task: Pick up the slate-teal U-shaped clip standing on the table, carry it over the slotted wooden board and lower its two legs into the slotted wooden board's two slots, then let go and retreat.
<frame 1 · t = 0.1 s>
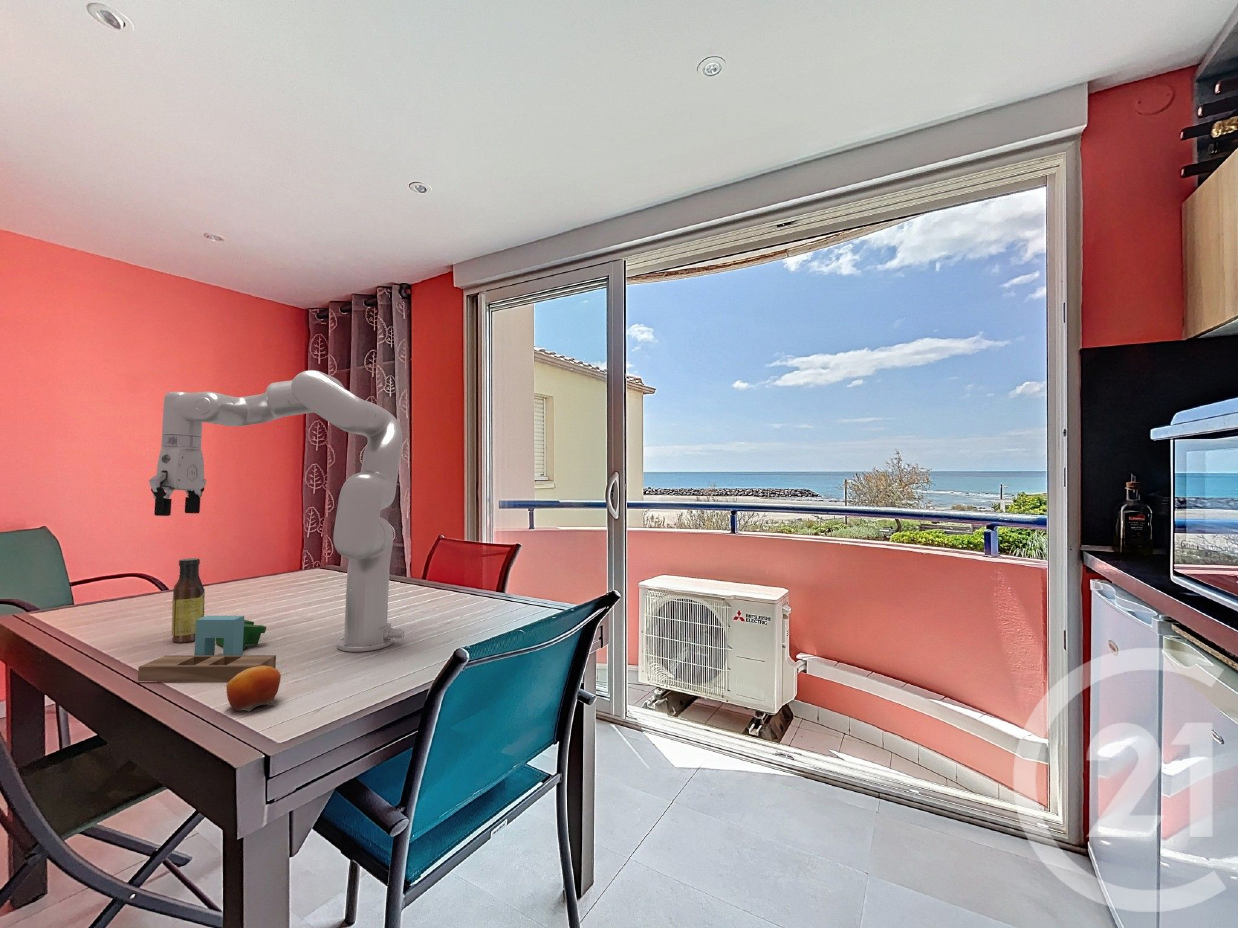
hand: (177, 514, 130), 31 cm above the table, tool pointing down, fingers open, 9 cm apart
fruit: (253, 706, 96), on the table
slotted wooden board: (209, 675, 110), on the table
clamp: (241, 646, 130), on the table
clip: (218, 658, 120), on the table
sauce bottle: (186, 640, 133), on the table
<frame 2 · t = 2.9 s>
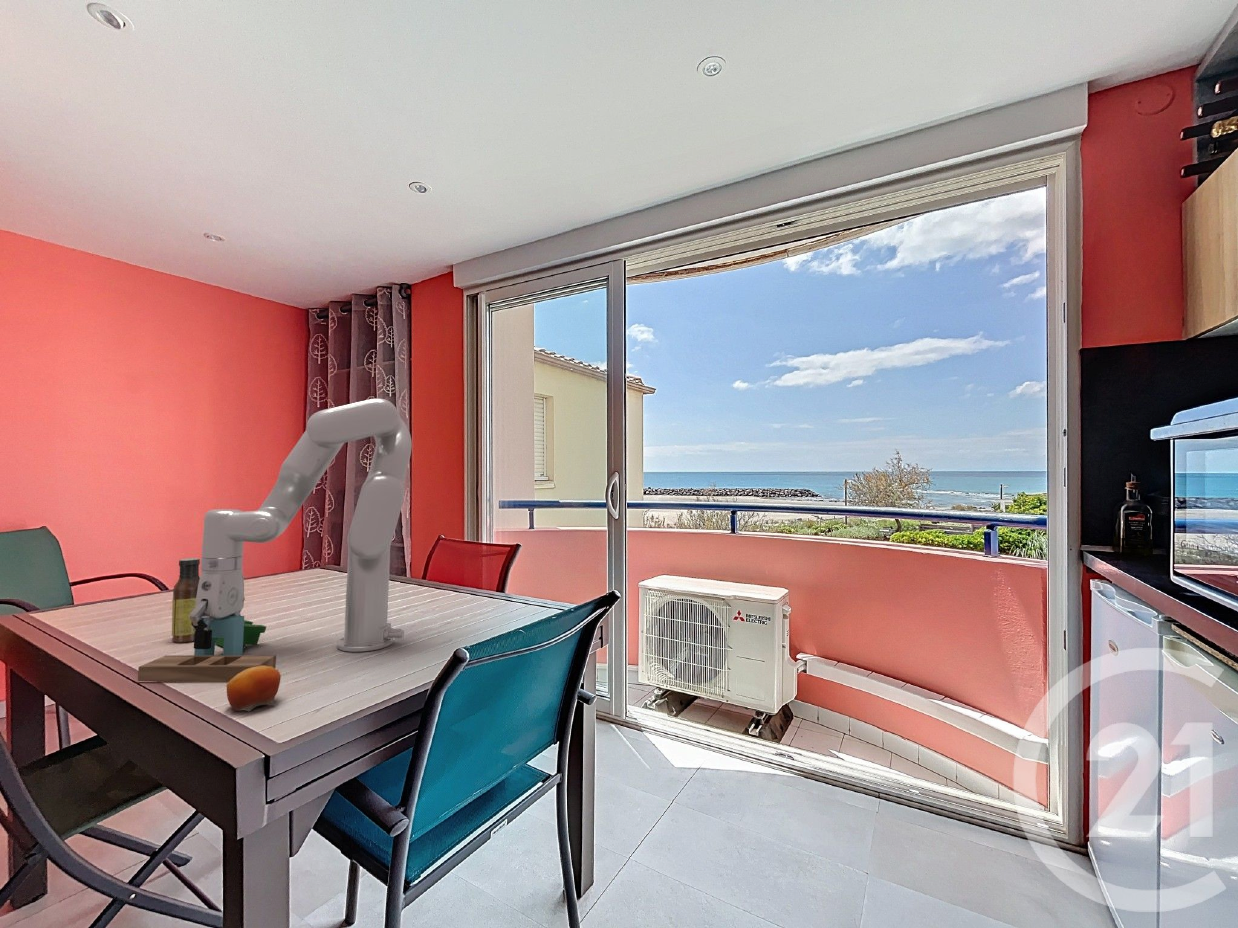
hand: (216, 642, 120), 4 cm above the table, tool pointing down, fingers open, 8 cm apart
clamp: (240, 646, 130), on the table, touching gripper
everything else where it was.
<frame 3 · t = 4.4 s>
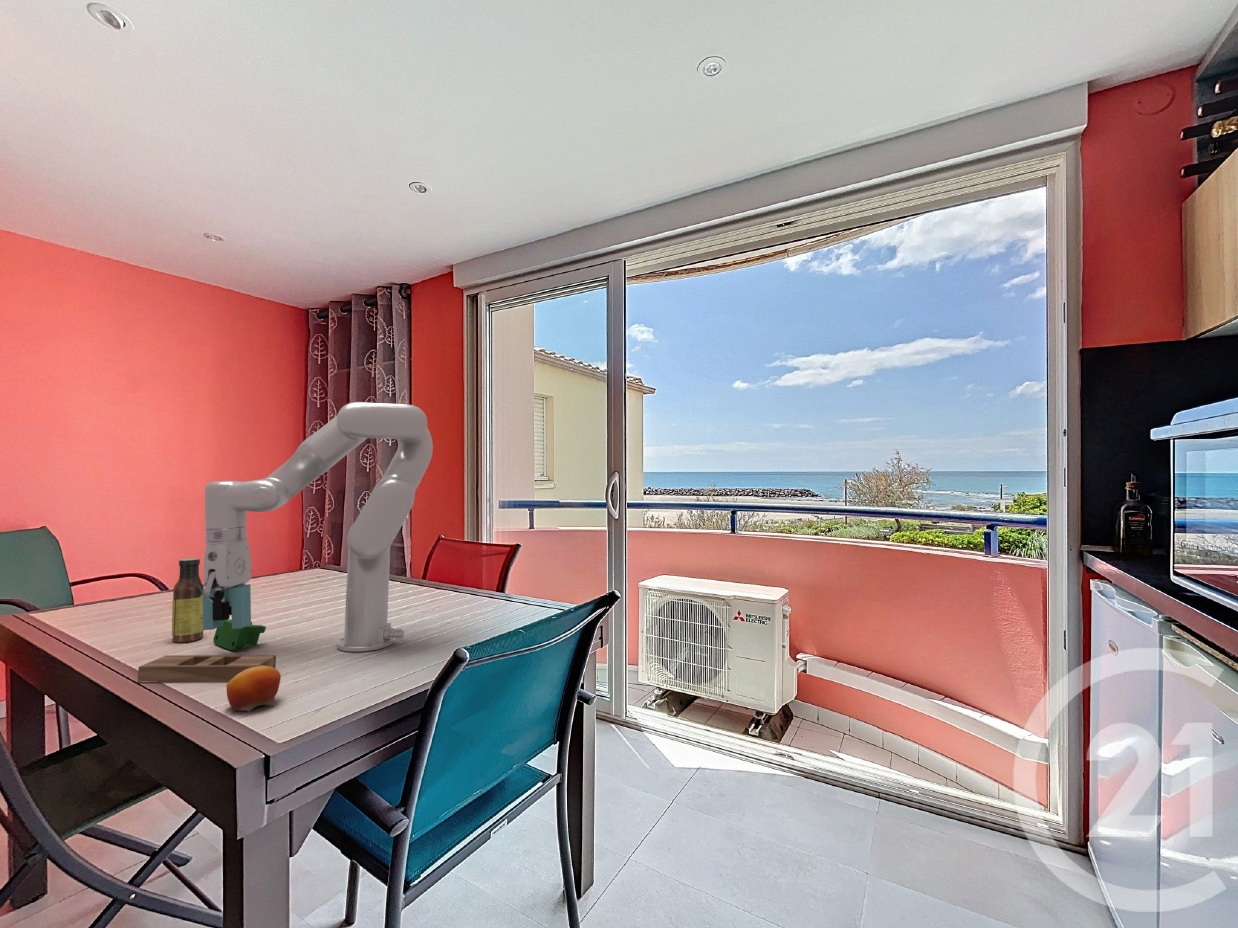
hand: (227, 616, 121), 9 cm above the table, tool pointing down, fingers closed on clip, 3 cm apart
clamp: (239, 646, 130), on the table
clip: (227, 626, 121), point 7 cm above the table, touching gripper
everything else where it was.
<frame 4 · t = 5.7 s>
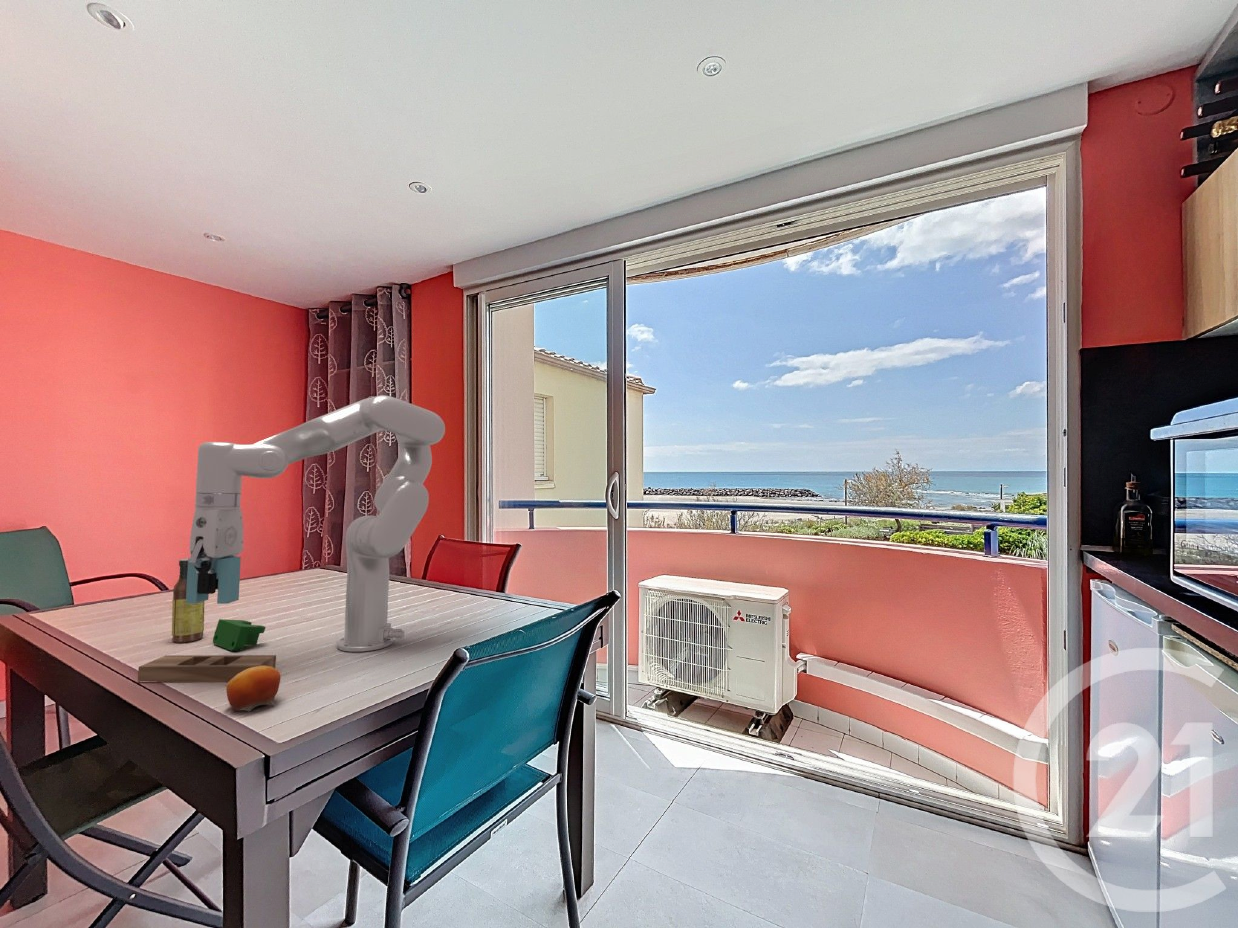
hand: (213, 590, 111), 17 cm above the table, tool pointing down, fingers closed on clip, 3 cm apart
clip: (212, 601, 111), point 15 cm above the table, touching gripper
everything else where it was.
when the fingers open (4 cm above the table, at t = 7.8 s): clip drops 2 cm, resting in slotted wooden board.
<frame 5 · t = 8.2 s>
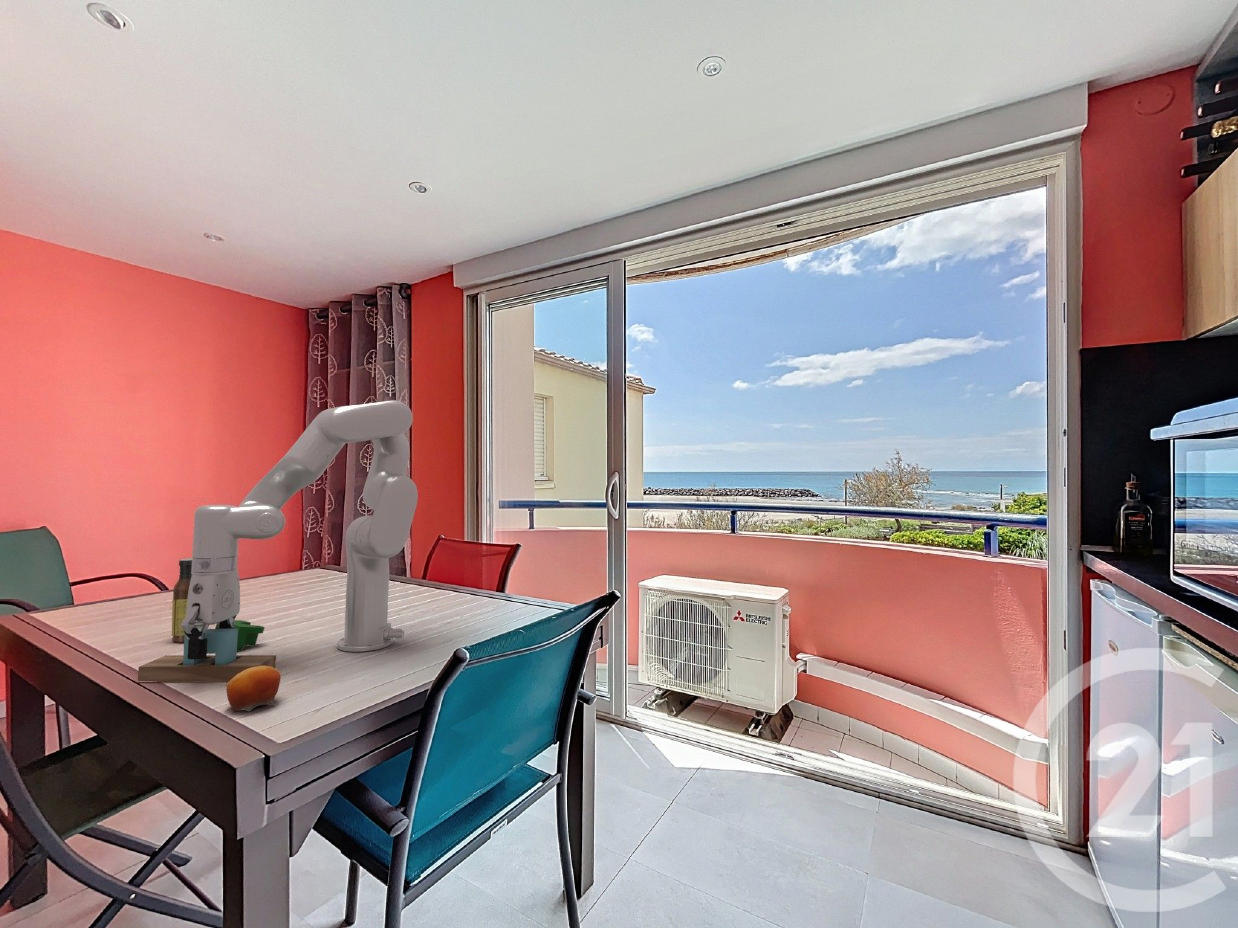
hand: (210, 651, 110), 5 cm above the table, tool pointing down, fingers open, 7 cm apart
clip: (209, 675, 110), resting in slotted wooden board
everything else where it was.
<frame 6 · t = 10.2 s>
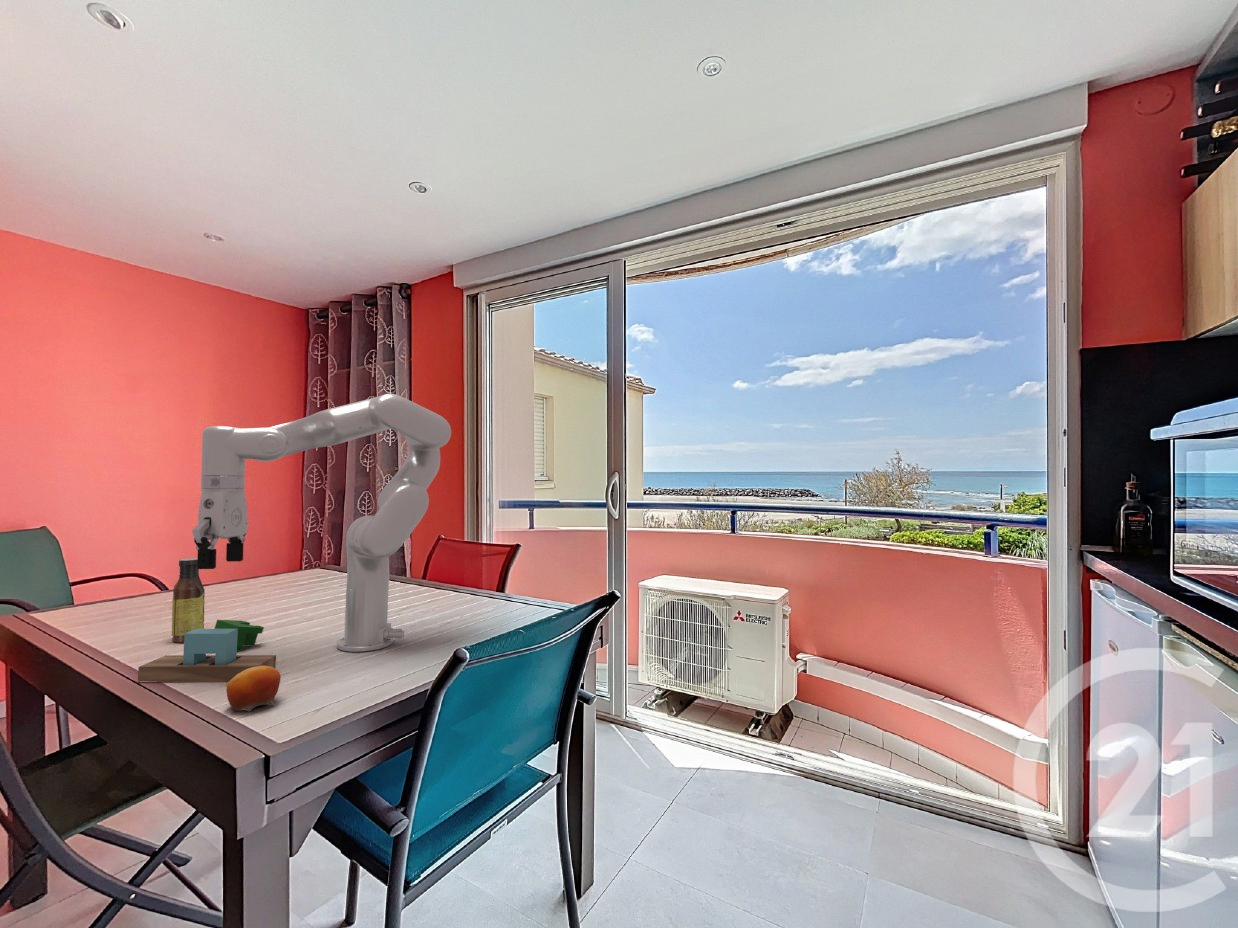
hand: (221, 564, 115), 22 cm above the table, tool pointing down, fingers open, 9 cm apart
nothing on the table moved.
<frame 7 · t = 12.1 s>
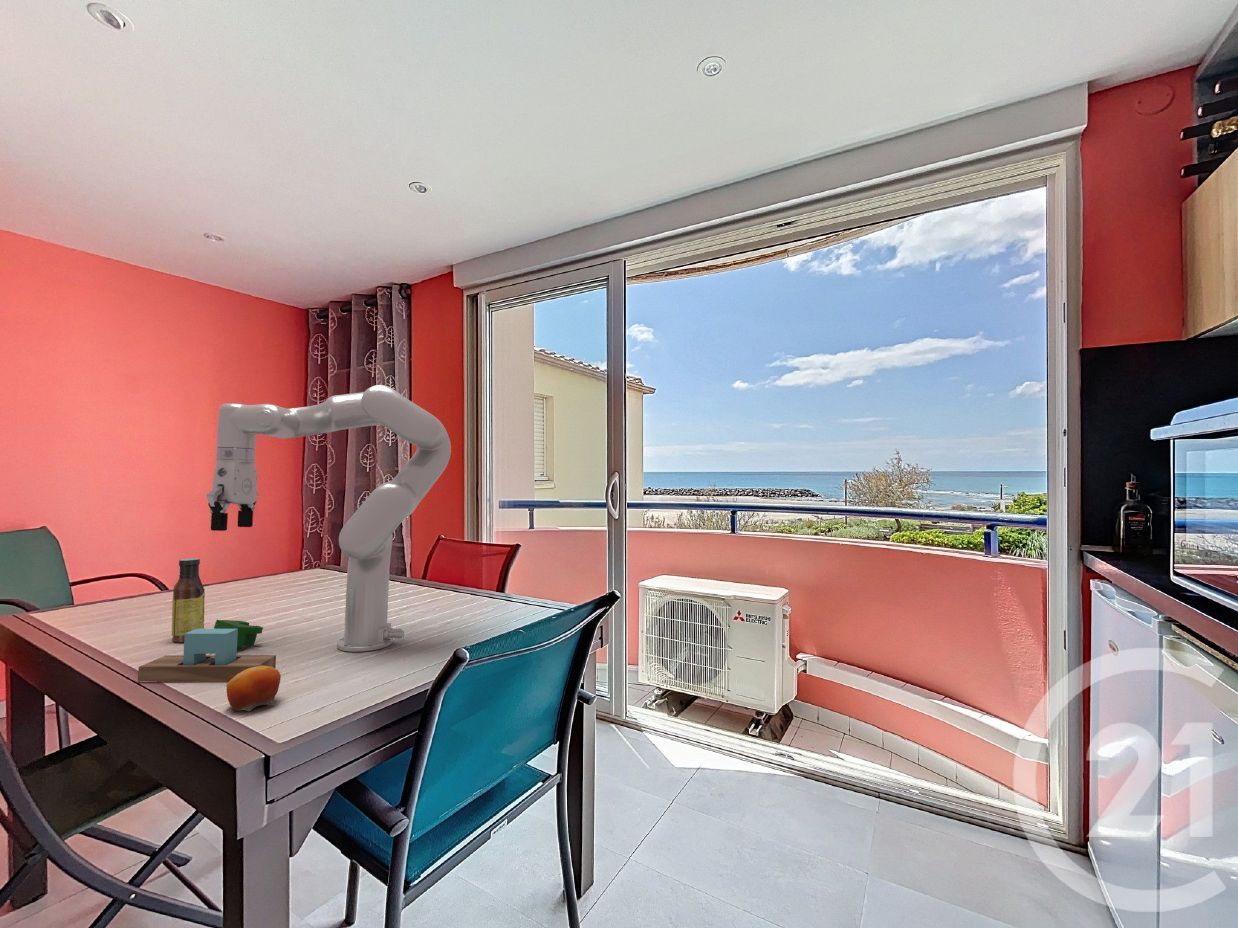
hand: (232, 528, 127), 28 cm above the table, tool pointing down, fingers open, 9 cm apart
nothing on the table moved.
at the end: clip 0.1 cm off-centre on the slotted wooden board, point 0.0 cm above the slotted wooden board's base; clip tilted 0°; the gripper is holding nothing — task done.
